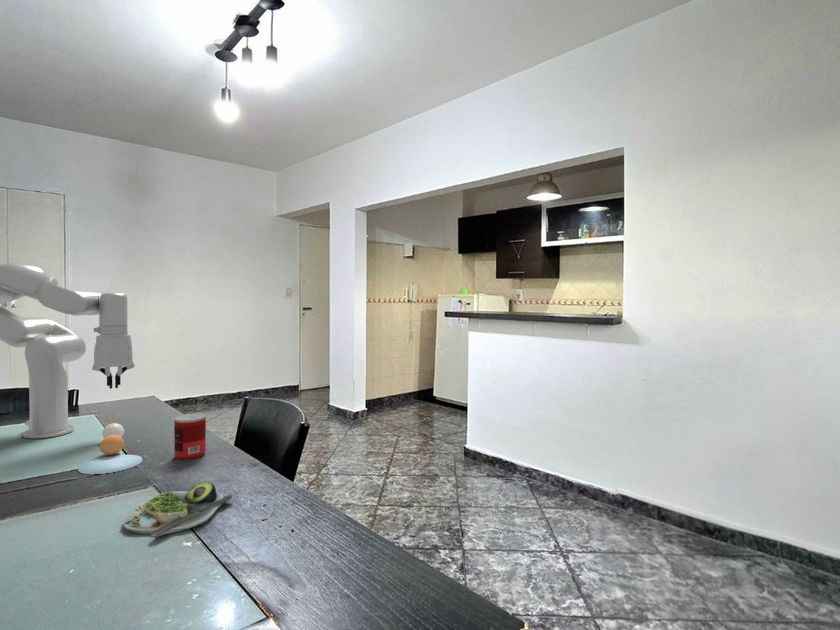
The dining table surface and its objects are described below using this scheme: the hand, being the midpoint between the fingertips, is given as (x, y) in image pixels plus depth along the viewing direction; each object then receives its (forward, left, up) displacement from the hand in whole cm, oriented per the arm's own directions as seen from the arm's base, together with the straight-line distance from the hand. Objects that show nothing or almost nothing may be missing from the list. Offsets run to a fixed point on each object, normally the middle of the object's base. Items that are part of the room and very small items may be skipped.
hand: (113, 387), depth 143 cm
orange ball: (+18, -15, -12) cm, 26 cm away
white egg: (+7, -6, -12) cm, 15 cm away
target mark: (+25, -21, -15) cm, 35 cm away
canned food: (+38, -8, -15) cm, 42 cm away
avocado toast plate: (+62, -36, -16) cm, 74 cm away
